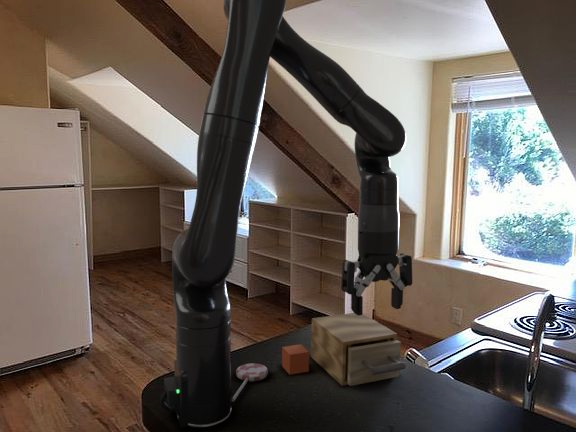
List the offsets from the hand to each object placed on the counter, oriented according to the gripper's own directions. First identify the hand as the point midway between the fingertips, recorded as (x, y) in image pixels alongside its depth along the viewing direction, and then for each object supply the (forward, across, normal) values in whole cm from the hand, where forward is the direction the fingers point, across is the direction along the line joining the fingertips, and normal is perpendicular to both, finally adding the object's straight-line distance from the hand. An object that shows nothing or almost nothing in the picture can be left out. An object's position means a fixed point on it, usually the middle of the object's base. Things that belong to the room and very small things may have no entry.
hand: (377, 311), depth 91 cm
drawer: (+15, -1, -6) cm, 16 cm away
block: (+16, +11, -14) cm, 24 cm away
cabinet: (+16, -1, -11) cm, 20 cm away
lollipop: (+15, +23, -11) cm, 30 cm away
